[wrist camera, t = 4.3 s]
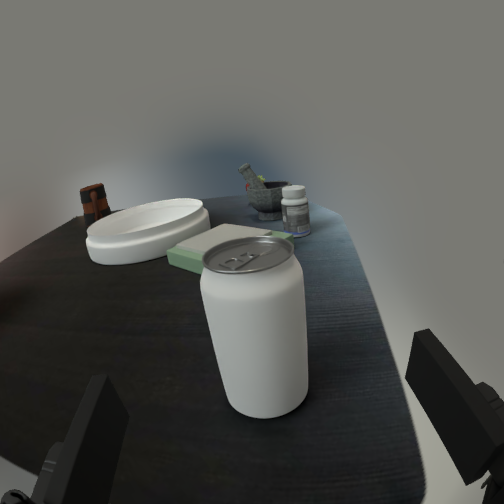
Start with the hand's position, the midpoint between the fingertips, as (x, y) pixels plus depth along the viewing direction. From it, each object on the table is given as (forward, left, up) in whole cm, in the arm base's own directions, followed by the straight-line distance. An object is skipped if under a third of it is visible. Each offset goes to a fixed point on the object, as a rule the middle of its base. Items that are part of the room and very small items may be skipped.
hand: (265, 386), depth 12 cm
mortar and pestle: (+37, -45, -10) cm, 59 cm away
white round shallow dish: (+53, -24, -10) cm, 59 cm away
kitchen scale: (+29, -25, -9) cm, 40 cm away
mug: (+85, -25, -10) cm, 89 cm away
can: (+6, -6, -10) cm, 13 cm away
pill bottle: (+25, -38, -10) cm, 47 cm away
